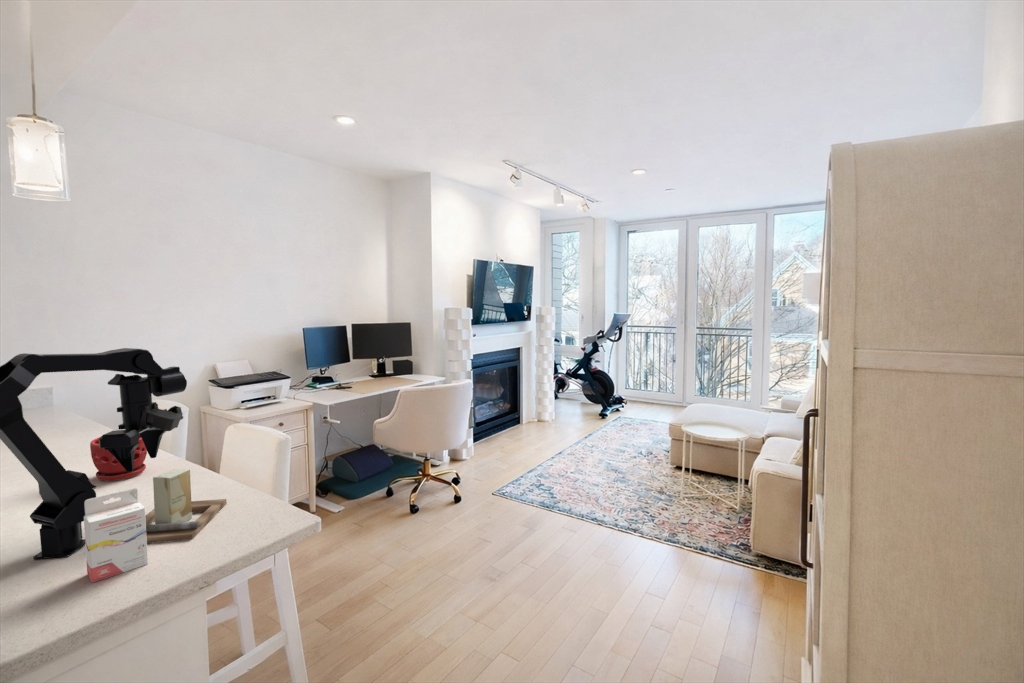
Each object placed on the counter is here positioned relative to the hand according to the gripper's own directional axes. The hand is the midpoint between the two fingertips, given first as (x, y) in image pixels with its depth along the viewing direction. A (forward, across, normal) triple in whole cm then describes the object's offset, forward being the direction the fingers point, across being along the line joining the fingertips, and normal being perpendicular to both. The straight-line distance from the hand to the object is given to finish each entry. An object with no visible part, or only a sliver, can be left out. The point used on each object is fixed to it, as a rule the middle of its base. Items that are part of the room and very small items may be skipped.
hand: (142, 464), depth 111 cm
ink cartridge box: (+13, -24, -8) cm, 29 cm away
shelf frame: (+13, -5, -9) cm, 17 cm away
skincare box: (+13, -5, -8) cm, 17 cm away
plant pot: (+14, +32, +24) cm, 42 cm away
